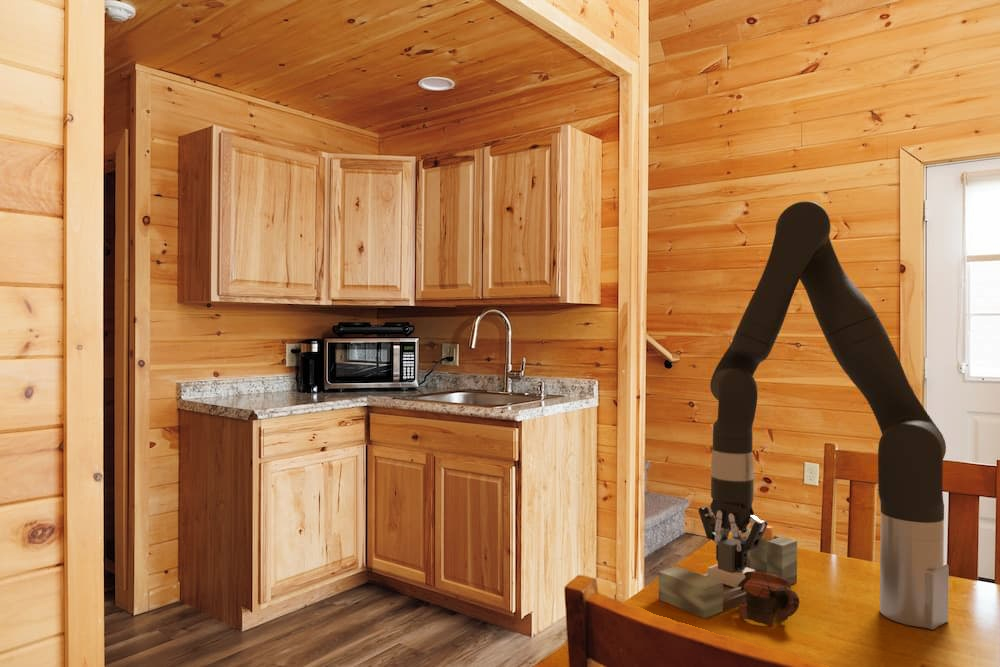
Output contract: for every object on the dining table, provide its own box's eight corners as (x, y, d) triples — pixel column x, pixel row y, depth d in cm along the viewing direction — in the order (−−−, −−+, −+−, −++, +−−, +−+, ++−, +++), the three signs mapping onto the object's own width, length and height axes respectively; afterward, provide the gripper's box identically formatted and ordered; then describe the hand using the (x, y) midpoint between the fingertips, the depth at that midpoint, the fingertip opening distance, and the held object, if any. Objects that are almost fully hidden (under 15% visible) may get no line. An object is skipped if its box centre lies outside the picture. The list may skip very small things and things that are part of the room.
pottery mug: (721, 615, 118) (728, 567, 121) (760, 631, 121) (765, 584, 125) (778, 623, 108) (784, 570, 111) (819, 640, 111) (823, 588, 114)
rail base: (796, 582, 132) (797, 540, 132) (704, 618, 115) (704, 570, 115) (750, 567, 140) (751, 528, 140) (658, 599, 123) (658, 554, 123)
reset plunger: (776, 557, 134) (776, 527, 134) (768, 560, 132) (768, 529, 132) (763, 553, 136) (763, 523, 136) (755, 556, 135) (755, 526, 135)
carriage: (755, 580, 127) (755, 543, 127) (735, 587, 124) (735, 549, 124) (727, 571, 132) (727, 535, 132) (707, 578, 128) (707, 540, 128)
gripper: (778, 479, 124) (777, 574, 124) (712, 466, 136) (711, 553, 136) (754, 484, 120) (753, 583, 120) (688, 470, 131) (687, 560, 131)
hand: (731, 566), depth 128 cm, fingers closed on carriage, 3 cm apart
